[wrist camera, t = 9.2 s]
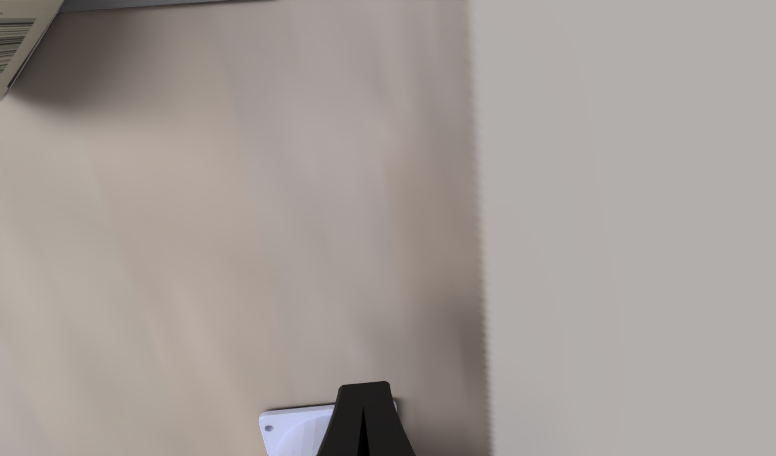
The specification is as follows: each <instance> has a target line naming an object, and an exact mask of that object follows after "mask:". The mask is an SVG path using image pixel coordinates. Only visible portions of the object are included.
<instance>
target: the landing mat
mask: <svg viewBox="0 0 776 456" xmlns="http://www.w3.org/2000/svg"><path fill="white" fill-rule="evenodd" d="M213 1H227V0H65V1H64V3H63V5H62V6H61V8H60V9H59V11H58V13H61V12H75V11H89V10H103V9H117V8H130V7H144V6H158V5H172V4H186V3H200V2H213Z"/></svg>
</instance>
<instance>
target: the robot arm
mask: <svg viewBox="0 0 776 456" xmlns="http://www.w3.org/2000/svg"><path fill="white" fill-rule="evenodd" d="M259 424H260V428H261V432H262V435H263V439H264V443H265V446H266V450H267V454H268V456H416V455H415V453H414V451H413V449H412V447H411V445H410V443H409V440H408V438H407V436H406V434H405V432H404V429H403V427H402V424H401V422H400V419H399V417H398V414H397V405H396V402H395V401H393V398H392V394H391V390H390V384H389V383H388V382H386V381H379V382H369V383H359V384H349V385H342V386H341V387H340V388H339V390H338V395H337V399H336V403H335V405H325V406H315V407H305V408H295V409H285V410H275V411H266V412H263V413H262V414H261V415H260V418H259ZM268 425H271V426H268Z"/></svg>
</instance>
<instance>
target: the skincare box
mask: <svg viewBox="0 0 776 456" xmlns="http://www.w3.org/2000/svg"><path fill="white" fill-rule="evenodd" d="M64 1H65V0H0V101H2V100H3V99H4V98H5V96H6V95H7V94H8V92H9V90H10V89H11V87H12V85H13V84H14V82H15V80H16V79H17V77H18V76H19V74H20V72H21V71H22V69H23V68H24V66H25V64H26V63H27V61H28V60H29V58H30V57H31V55H32V53H33V51H34V50H35V48H36V47H37V45H38V44H39V42H40V40H41V39H42V37H43V35H44V34H45V32H46V31H47V29H48V27H49V26H50V24H51V22H52V21H53V19H54V18H55V16H56V14H57V13H58V11H59V9H60V8H61V6H62V5H63V3H64Z"/></svg>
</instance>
